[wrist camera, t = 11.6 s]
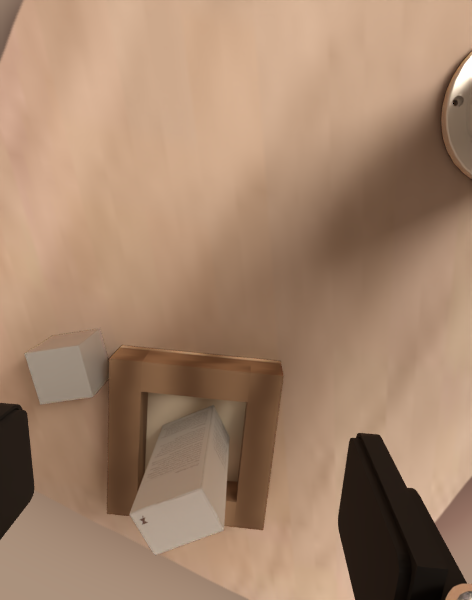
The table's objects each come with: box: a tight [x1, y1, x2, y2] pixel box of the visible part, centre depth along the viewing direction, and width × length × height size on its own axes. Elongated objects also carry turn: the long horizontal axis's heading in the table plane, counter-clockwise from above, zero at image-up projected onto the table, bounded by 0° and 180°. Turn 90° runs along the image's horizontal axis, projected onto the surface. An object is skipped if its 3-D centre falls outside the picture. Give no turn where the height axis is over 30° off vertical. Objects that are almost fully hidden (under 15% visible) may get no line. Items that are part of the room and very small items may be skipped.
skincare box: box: [129, 405, 230, 555], centre depth 33 cm, size 6×4×12 cm
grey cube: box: [24, 328, 109, 405], centre depth 36 cm, size 5×5×5 cm
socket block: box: [107, 345, 283, 530], centre depth 38 cm, size 16×17×4 cm
